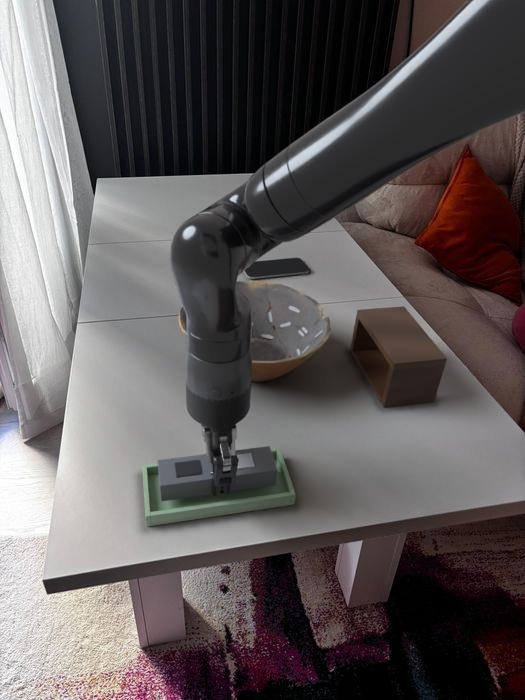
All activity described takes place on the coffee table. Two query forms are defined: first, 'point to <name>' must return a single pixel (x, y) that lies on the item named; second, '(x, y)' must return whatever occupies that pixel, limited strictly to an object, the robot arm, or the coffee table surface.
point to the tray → (215, 498)
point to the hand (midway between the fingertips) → (217, 477)
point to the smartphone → (276, 268)
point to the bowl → (280, 327)
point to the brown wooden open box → (396, 356)
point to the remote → (196, 480)
